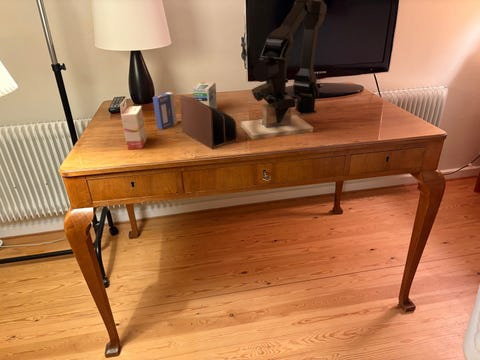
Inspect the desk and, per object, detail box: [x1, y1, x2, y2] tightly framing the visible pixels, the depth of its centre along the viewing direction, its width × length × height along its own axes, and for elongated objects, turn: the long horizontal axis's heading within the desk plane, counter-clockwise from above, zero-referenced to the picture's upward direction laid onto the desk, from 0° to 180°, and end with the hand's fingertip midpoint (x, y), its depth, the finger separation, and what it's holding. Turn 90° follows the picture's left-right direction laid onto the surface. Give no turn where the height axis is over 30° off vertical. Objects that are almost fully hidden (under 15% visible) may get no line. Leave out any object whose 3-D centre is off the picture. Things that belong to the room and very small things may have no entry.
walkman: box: [152, 91, 178, 131], centre depth 125 cm, size 8×3×12 cm, turn 144°
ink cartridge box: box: [119, 97, 147, 150], centre depth 110 cm, size 9×5×15 cm, turn 5°
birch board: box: [240, 114, 314, 140], centre depth 122 cm, size 22×14×2 cm, turn 106°
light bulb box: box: [192, 81, 218, 109], centre depth 139 cm, size 11×7×11 cm, turn 168°
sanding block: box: [261, 103, 292, 128], centre depth 120 cm, size 9×4×7 cm, turn 106°
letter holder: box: [179, 95, 238, 150], centre depth 114 cm, size 10×20×14 cm, turn 37°
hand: (276, 120), depth 121 cm, fingers closed on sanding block, 4 cm apart
